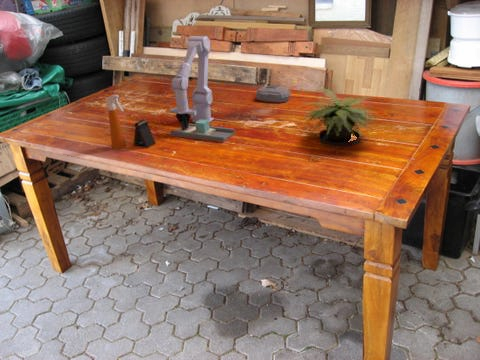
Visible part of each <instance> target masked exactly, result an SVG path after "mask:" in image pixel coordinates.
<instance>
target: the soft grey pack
mask: <svg viewBox="0 0 480 360" xmlns="http://www.w3.org/2000/svg"><path fill="white" fill-rule="evenodd" d="M255 96H256V99H257V101H260V102H265V103H275V104H276V103H285V102H288V101H289V100H290V97H291V91H290V90H289V89H287V88H286V87H284V86H279V85H271V84H270V85H269V84H268V85H266V86H265V85H264V86H261V87H259V88H258V89H257V90H256V93H255Z"/></svg>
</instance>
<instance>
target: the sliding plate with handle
mask: <svg viewBox="0 0 480 360" xmlns="http://www.w3.org/2000/svg"><path fill="white" fill-rule="evenodd" d="M180 128H182V129H181V130H180V131H182V132H190V133H198V132H196V127H195V126H188V128H185V125H184V120H183V121H181V125H180ZM215 131H216V129H212V128H210V130H209V131H207V132H206V133H198V134H206V135H211V134H213V133H214V132H215Z"/></svg>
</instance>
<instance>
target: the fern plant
mask: <svg viewBox="0 0 480 360" xmlns="http://www.w3.org/2000/svg"><path fill="white" fill-rule="evenodd" d="M317 87H318V88H320V90H321V91H322V93H324V96H318V97H317V99H325V100H326V101H327V100H328V101H330V103H326V102H321V101H317V102H315V101H314V102H309V103H306V104H305V106H306V105H317V106H316V108H314V109H313V110H310V111H308V112H306V113H304V114H303V115H305V116H303V117H301V118H303V119H302V120H304V119H306V118H308V117H309V119H307V120H306V121H305V122H304V124H306V123H309V122H310V121H314V120H315V121H316V120H317V119H318V121H317V123H315V127H314V128H313V130H312V132H313V131H315V130H316V129H317V128H320V127H321V126H323V128H322V130H321V131H320V132H319V133H318V139H319V142H321V143H322V144H324V145H327V146H331V147H337V146H339V147H349V146H348V145H350V146H352V144H353V145H355V144H354V143H356V142H357V141H358V142H359V141H360V136H362V133H361V130H360V128H361V129H363V130H365V128H364V127H366V128H367V129H369V130H370V131H372V132H374V130H373V129H372V127H371V126H370V125H369V124H368V123H371V124H375V125H376V126H378V124H377V123H375V121H379V119H378V118H377V117H376V116H374V115H373V114H377V111H373V110H371V109H367V108H366V109H364V108H362V107H356V104H361V103H362V102H365V101H366V100H367V99H369V98H370V96H361V97H357V98H355V97H353V96H350V97H345V98H344V97H343V98H342V100H341V101H340V97H338V95H336V93H335V92H334V91H331V90H330V89H327V88H324V87H323V86H322V87H320V86H317ZM327 97H328V98H327ZM373 97H375V95H372V98H373ZM371 113H373V114H371ZM367 122H368V123H367ZM351 134H353V136H354V135H355V136H356V137H357V139H356V140H353V141H350V142H348V141H349V140H350V139H351ZM358 142H357V143H358ZM357 143H356V144H357Z"/></svg>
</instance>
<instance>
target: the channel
mask: <svg viewBox="0 0 480 360" xmlns="http://www.w3.org/2000/svg"><path fill="white" fill-rule="evenodd" d="M189 126H195V123H189ZM209 126H210V125H209ZM195 127H196V126H195ZM210 128H212V129H216V131H215V132H214V133H213V134H211V135H206V134H198V133H190V132H182V131H180V130H181V129H182V128H181V127H179V128H178V129H176V130H172V129H171V130H170V136H173V137H179V138H180V137H182V138H189V139H196V140H203V141H211V142H217V143H218V142H219V143H225V142H226V141H227V140H228V139H230V138H231V137H232V136H233V135H235V128H232V127H231V128H230V127H220V126H212V125H211V126H210Z"/></svg>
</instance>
